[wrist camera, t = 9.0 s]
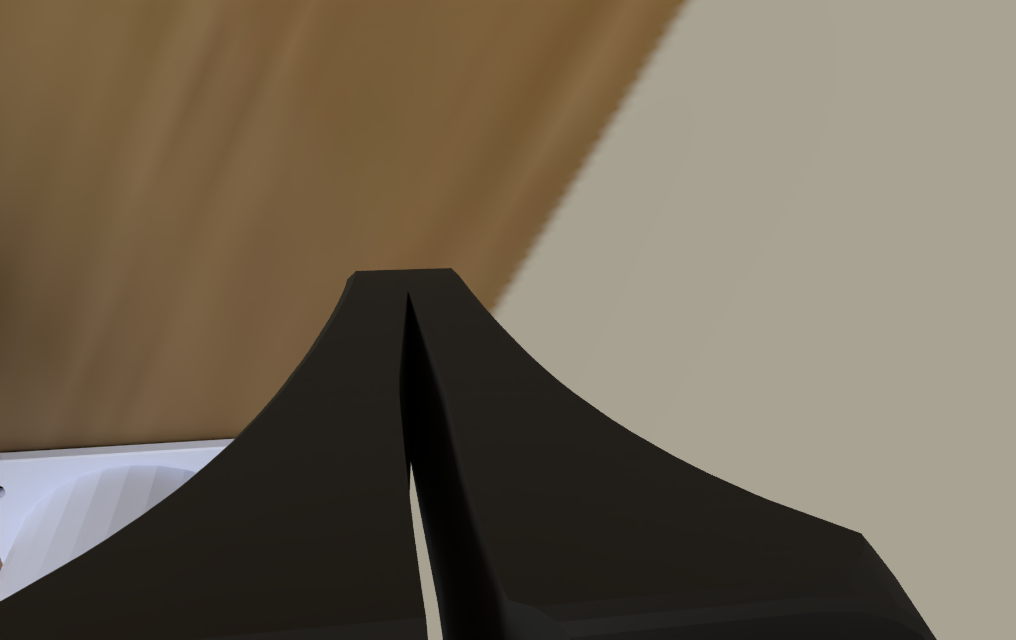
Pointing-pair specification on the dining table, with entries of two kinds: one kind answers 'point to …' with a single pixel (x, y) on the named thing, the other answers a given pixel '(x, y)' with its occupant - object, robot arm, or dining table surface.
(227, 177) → the dining table surface
